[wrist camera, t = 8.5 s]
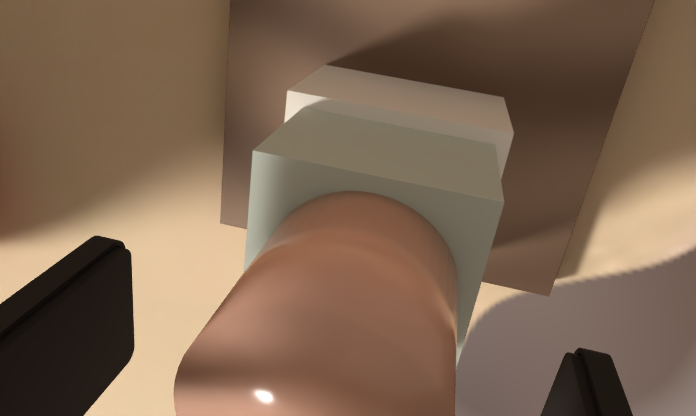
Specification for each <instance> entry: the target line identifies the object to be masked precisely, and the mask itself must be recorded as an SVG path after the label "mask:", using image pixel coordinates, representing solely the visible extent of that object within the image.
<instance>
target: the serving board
mask: <svg viewBox="0 0 696 416" xmlns="http://www.w3.org/2000/svg"><path fill="white" fill-rule="evenodd" d="M653 3H654V0H231V2H230V23H229V45H228V67H227V88H226V110H225V132H224V154H223V175H222V197H221V219H220V223H222V224H226V225H231V226H235V227H240V228H244V229H247V224H248V210H249V196H250V182H251V168H252V154H253V150H254V149H255V148H256V147H257V146H259V145H260V144H261V143H262V142H263V141H264V140H265V139H267V138H268V137H269V136H270V135H271V134H272V133H274V132H275V131H276V130H277V129H278V128H279V127H281V126H282V125H283V124H284V120H285V110H286V99H287V90H289V89H290V88H291V87H293V86H294V85H296V84H297V83H299V82H300V81H302V80H303V79H305V78H306V77H307V76H309V75H310V74H312V73H313V72H315V71H316V70H318V69H319V68H321V67H322V66H323V65H329V66H335V67H340V68H346V69H351V70H357V71H362V72H368V73H373V74H379V75H384V76H390V77H395V78H401V79H406V80H412V81H417V82H423V83H428V84H434V85H439V86H445V87H450V88H456V89H461V90H467V91H472V92H478V93H483V94H488V95H494V96H499V97H504V100H505V103H506V107H507V110H508V114H509V117H510V121H511V124H512V128H513V131H514V135H513V139H512V142H511V146H510V150H509V153H508V157H507V160H506V164H505V167H504V171H503V175H502V178H501V184H502V190H503V197H504V206H503V209H502V213H501V216H500V219H499V223H498V226H497V230H496V233H495V237H494V240H493V244H492V247H491V250H490V254H489V257H488V261H487V264H486V268H485V271H484V274H483V278H482V282H486V283H491V284H495V285H500V286H504V287H509V288H513V289H518V290H522V291H527V292H531V293H536V294H540V295H545V296H549V295H550V292H551V290H552V287H553V284H554V281H555V278H556V275H557V273H558V270H559V267H560V264H561V261H562V259H563V256H564V253H565V250H566V247H567V245H568V242H569V239H570V236H571V233H572V230H573V228H574V225H575V222H576V219H577V216H578V214H579V211H580V208H581V205H582V202H583V200H584V197H585V194H586V191H587V188H588V185H589V183H590V180H591V177H592V174H593V171H594V169H595V166H596V163H597V160H598V157H599V154H600V152H601V149H602V146H603V143H604V140H605V138H606V135H607V132H608V129H609V126H610V124H611V121H612V118H613V115H614V112H615V109H616V107H617V104H618V101H619V98H620V95H621V93H622V90H623V87H624V84H625V81H626V79H627V76H628V73H629V70H630V67H631V64H632V62H633V59H634V56H635V53H636V50H637V48H638V45H639V42H640V39H641V36H642V33H643V31H644V28H645V25H646V22H647V19H648V17H649V14H650V11H651V8H652V5H653Z"/></svg>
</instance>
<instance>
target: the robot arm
mask: <svg viewBox="0 0 696 416" xmlns="http://www.w3.org/2000/svg"><path fill="white" fill-rule="evenodd" d="M133 351H134V321H133V293H132V265H131V253H130V251H129V250H128V249H125V245H124V243H123V242H121V241H119V240H115V239H110V238H106V237H102V236H94V237H92V238H90V239H89V240H87V241H86V242H85V243H83V244H82V245H81V246H79V247H78V248H76V249H75V250H74V251H72V252H71V253H70V254H68V255H67V256H65V257H64V258H63V259H61V260H60V261H59V262H57V263H56V264H54V265H53V266H52V267H50V268H49V269H48V270H46V271H45V272H43V273H42V274H41V275H39V276H38V277H37V278H35V279H34V280H32V281H31V282H30V283H28V284H27V285H26V286H24V287H23V288H22V289H20V290H19V291H17V292H16V293H15V294H13V295H12V296H11V297H9V298H8V299H6V300H5V301H4V302H2V303H1V304H0V416H83V415H84V414H85V413H86V412H87V411H88V410H89V408H90V407H91V406H92V405H93V404H94V402H95V401H96V400H97V399H98V398H99V397H100V395H101V394H102V393H103V392H104V391H105V390H106V388H107V387H108V386H109V385H110V384H111V382H112V381H113V380H114V379H115V378H116V377H117V375H118V374H119V373H120V372H121V371H122V369H123V368H124V367H125V366H126V365H127V364H128V362H129V361H130V359H131V357H132V354H133ZM541 416H633V415H632V412H631V409H630V406H629V404H628V401H627V398H626V396H625V393H624V390H623V387H622V385H621V382H620V379H619V377H618V374H617V371H616V368H615V366H614V363H613V360H612V358H611V356H610V355H608V354H605V353H601V352H596V351H592V350H587V349H583V348H578V349H577V350H576V351H575V353H574V354H573V353H566V354H565V356H564V358H563V360H562V363H561V365H560V368H559V370H558V373H557V375H556V378H555V381H554V383H553V386H552V388H551V391H550V393H549V396H548V398H547V401H546V403H545V406H544V408H543V411H542V413H541Z"/></svg>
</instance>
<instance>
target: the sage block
mask: <svg viewBox="0 0 696 416" xmlns="http://www.w3.org/2000/svg"><path fill="white" fill-rule="evenodd" d="M341 191H363V192H370V193H376V194H379V195H383V196H387V197H389V198H392V199H394V200H397V201H399V202H401V203H403V204H405V205H407V206H409V207H410V208H412V209H414V210H415V211H416V212H418V213H419V214H421V215H422V216H423V217H424V218H426V219H427V220H428V221H429V222H430V223H431V224H432V225H433V226H434V227H435V228H436V230H437V231H438V232H439V233H440V234H441V236H442V237H443V239H444V240H445V242H446V244H447V245H448V247H449V249H450V251H451V254H452V256H453V258H454V261H455V265H456V269H457V275H458V314H457V350H456V367H457V364H458V360H459V357H460V353H461V350H462V347H463V343H464V340H465V336H466V333H467V329H468V326H469V323H470V319H471V316H472V312H473V309H474V305H475V302H476V298H477V295H478V292H479V288H480V285H481V281H482V278H483V274H484V271H485V268H486V264H487V261H488V257H489V254H490V250H491V247H492V244H493V240H494V237H495V233H496V230H497V226H498V223H499V219H500V216H501V213H502V209H503V206H504V197H503V190H502V184H501V178H500V172H499V165H498V159H497V153H496V147H495V145H494V144H489V143H484V142H479V141H474V140H469V139H463V138H458V137H453V136H448V135H443V134H438V133H433V132H427V131H422V130H417V129H412V128H407V127H402V126H397V125H392V124H386V123H381V122H376V121H371V120H366V119H361V118H356V117H350V116H345V115H340V114H335V113H330V112H325V111H320V110H315V109H309V108H304V107H303V108H302V109H300V110H299V111H298V112H297V113H296V114H295V115H293V116H292V117H291V118H290V119H289V120H288V121H286V122H285V123H284V124H283V125H282V126H281V127H279V128H278V129H277V130H276V131H275V132H274V133H272V134H271V135H270V136H269V137H268V138H267V139H265V140H264V141H263V142H262V143H261V144H260V145H259V146H257V147H256V148H255V149H254V150H253V154H252V168H251V182H250V196H249V210H248V224H247V238H246V251H245V265H244V272H245V271H246V269H247V268H248V267H249V265H250V264H251V262H252V261H253V260H254V258H255V257H256V256H257V254H258V253H259V251H260V250H261V249H262V247H263V246H264V245H265V243H266V242H267V241H268V239H269V238H270V236H271V235H272V234H273V232H274V231H275V230H276V228H277V227H278V225H279V224H280V223H281V221H282V220H283V219H284V218H285V217H286V216H287V215H288V214H289V213H290V212H291V211H293V210H294V209H295V208H297V207H298V206H299V205H301V204H303V203H305V202H306V201H308V200H310V199H313V198H315V197H318V196H321V195H324V194H329V193H333V192H341Z"/></svg>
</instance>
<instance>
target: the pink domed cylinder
mask: <svg viewBox="0 0 696 416" xmlns="http://www.w3.org/2000/svg"><path fill="white" fill-rule="evenodd" d="M457 314H458V275H457V269H456V265H455V261H454V258H453V256H452V254H451V251H450V249H449V247H448V245H447V244H446V242H445V240H444V239H443V237H442V236H441V234H440V233H439V232H438V231H437V230H436V228H435V227H434V226H433V225H432V224H431V223H430V222H429V221H428V220H427V219H426V218H424V217H423V216H422V215H421V214H419V213H418V212H416V211H415V210H414V209H412V208H410V207H409V206H407V205H405V204H403V203H401V202H399V201H397V200H394V199H392V198H389V197H387V196H383V195H379V194H376V193H370V192H363V191H341V192H333V193H329V194H324V195H321V196H318V197H315V198H313V199H310V200H308V201H306V202H305V203H303V204H301V205H299V206H298V207H297V208H295V209H294V210H293V211H291V212H290V213H289V214H288V215H287V216H286V217H285V218H284V219H283V220H282V221H281V223H280V224H279V225H278V227H277V228H276V230H275V231H274V232H273V234H272V235H271V236H270V238H269V239H268V241H267V242H266V243H265V245H264V246H263V247H262V249H261V250H260V251H259V253H258V254H257V256H256V257H255V258H254V260H253V261H252V262H251V264H250V265H249V267H248V268H247V269H246V271H245V272H244V273H243V275H242V276H241V277H240V279H239V280H238V282H237V283H236V284H235V286H234V287H233V288H232V290H231V291H230V293H229V294H228V295H227V297H226V298H225V299H224V301H223V302H222V304H221V305H220V306H219V308H218V309H217V310H216V312H215V313H214V314H213V316H212V317H211V319H210V320H209V321H208V323H207V324H206V325H205V327H204V328H203V330H202V331H201V332H200V334H199V335H198V336H197V338H196V339H195V341H194V342H193V343H192V345H191V346H190V347H189V349H188V350H187V352H186V353H185V354H184V356H183V359H182V361H181V363H180V365H179V367H178V371H177V374H176V378H175V385H174V405H175V411H176V416H455V387H456V350H457Z"/></svg>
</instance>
